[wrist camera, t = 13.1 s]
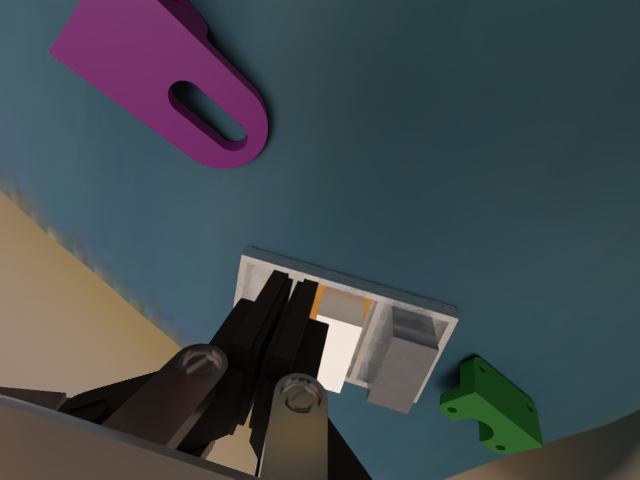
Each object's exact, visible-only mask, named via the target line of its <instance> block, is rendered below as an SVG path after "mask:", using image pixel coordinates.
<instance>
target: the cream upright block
mask: <svg viewBox="0 0 640 480" xmlns="http://www.w3.org/2000/svg"><path fill="white" fill-rule="evenodd" d="M364 305H365V297H362V296H358V295H355V294H351V293H348V292H345V291H341V290H338V289H334V288H331V287H327V286H326V287H325V290H324V294H323V297H322V300H321V304H320V307H319V311H318V314H317V318H316V320H318V321H321V322H324V323H327V324H329V329H328V333H327V338H326V342H325V346H324V351H323V355H322V360H321V364H320V368H319V373H318V377H317V380H318V381H319V382H320V383H321V384H322V385H323V387H324V389H327V390H330V391H334V392H337V393H340V391H341V388H342V385H343V382H344V379H345V376H346V374H347V371H348V368H349V365H350V362H351V359H352V357H353V354H354V351H355V348H356V345H357V342H358V339H359V337H360V334H361V331H362V328H363V317H364Z"/></svg>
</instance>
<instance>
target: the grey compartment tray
mask: <svg viewBox="0 0 640 480" xmlns="http://www.w3.org/2000/svg"><path fill="white" fill-rule="evenodd" d="M273 270H278V271H281V272H285V273H288V274H289V278H291V279H293V284H292V288H291V293H290V296H291V294H292V292H293V290H294V288H295V285H296V283H297V281H301V282H303V281H304V279H308V280H312V281H315V282H319V285H318V289H317V292H316V296H315V300H314V303H313V307H312V310H311V314H310V318H311V319H314V320H316V318H317V314H318V311H319V307H320V304H321V300H322V297H323V294H324V290H325V287H326V286H327V287H331V288H334V289H338V290H341V291H345V292H348V293H351V294H355V295H358V296H362V297H365V305H364V317H363V328H362V331H361V334H360V337H359V339H358V342H357V345H356V348H355V351H354V354H353V357H352V359H351V362H350V365H349V368H348V371H347V374H346V376H345V379H344V381H346V382H350V383H353V384H356V385H359V386H362V387H366V388H367V399H366V401H368V402H371V403H374V404H377V405H381V406H384V407H387V408H390V409H393V410H397V411H400V412H403V413H406V414H408V412H409V410H410V408H411V406H412V404H413V402H414V403H416V402H417V400H418V398H419V396H420V394H421V392H422V390H423V388H424V386H425V384H426V382H427V381H428V379H429V377H430V375H431V373H432V371H433V369H434V367H435V365H436V363H437V361H438V359H439V357H440V355H441V353H442V351H443V349H444V347H445V345H446V343H447V341H448V339H449V337H450V335H451V333H452V331H453V329H454V327H455V325H456V323H457V322H458V320H459V318H458V315H457V312H456V309H455V307H454V306H451V305H447V304H444V303H441V302H437V301H434V300H430V299H427V298H424V297H420V296H417V295H413V294H410V293H407V292H403V291H400V290H396V289H393V288H390V287H386V286H383V285H379V284H376V283H373V282H369V281H366V280H362V279H359V278H356V277H352V276H349V275H345V274H342V273H339V272H335V271H332V270H328V269H325V268H322V267H318V266H315V265H311V264H308V263H305V262H301V261H298V260H294V259H291V258H288V257H284V256H281V255H277V254H274V253H271V252H267V251H264V250H260V249H257V248H254V247H250V246H249V247H248V248H247V249H246V250H245V252H244V253H243V254H242V256H241V262H240V269H239V275H238V281H237V287H236V294H235V300H234V306H233V308H234V307H235V305H236V304H237V302H238V301H239V300H240V298H245V299H248V300H251V301H255V300H256V298H257V296H258V295H259V293H260V292H261V290H262V288H263V287H264V285H265V283H266V282H267V280H268V278H269V277H270V275H271V274H272V272H273ZM289 299H290V297H289Z"/></svg>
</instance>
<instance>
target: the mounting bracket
mask: <svg viewBox="0 0 640 480" xmlns="http://www.w3.org/2000/svg"><path fill="white" fill-rule="evenodd" d="M207 32H208V27H207V25H206V23H205V21H204V19H203V17H202V16H201V15H200V13H199V12H198V11H197V10H196V8H195V7H194V6H193V5H192V4H191V2H190V1H189V0H81V1H80V3H79V4H78V6H77V8H76V9H75V11H74V12H73V14H72V16H71V17H70V19H69V20H68V22H67V24H66V25H65V27H64V29H63V30H62V32H61V33H60V35H59V37H58V38H57V40H56V42H55V43H54V45H53V46H52V48H51V50H50V51H49V53H50V54H51V55H53V56H54V57H55V58H57V59H58V60H59V61H61V62H62V63H64V64H65V65H66V66H68V67H69V68H70V69H72V70H73V71H74V72H76V73H77V74H78V75H80V76H81V77H83V78H84V79H85V80H87V81H88V82H89V83H91V84H92V85H93V86H95V87H96V88H97V89H99V90H100V91H102V92H103V93H104V94H106V95H107V96H108V97H110V98H111V99H112V100H114V101H115V102H116V103H118V104H119V105H120V106H122V107H123V108H125V109H126V110H127V111H129V112H130V113H131V114H133V115H134V116H135V117H137V118H138V119H139V120H141V121H142V122H144V123H145V124H146V125H148V126H149V127H150V128H152V129H153V130H154V131H156V132H157V133H158V134H160V135H161V136H163V137H164V138H165V139H167V140H168V141H169V142H171V143H172V144H173V145H175V146H176V147H177V148H179V149H180V150H181V151H183V152H184V153H186V154H187V155H188V156H190V157H191V158H193V159H194V160H196V161H198V162H199V163H202V164H204V165H207V166H210V167H214V168H234V167H238V166H241V165H244V164H246V163H248V162H250V161H251V160H252V159H254V158H255V157H256V156H257V155H258V154H259V153H260V151H261V150H262V148H263V146H264V144H265V142H266V138H267V133H268V121H267V111H266V107H265V104H264V102H263V100H262V98H261V96H260V94H259V93H258V91H257V90H256V89H255V88H254V87H253V86H252V84H250V83H249V82H248V81H247V80H246V79H245V78H244V77H243V76H242V75H241V74H240V73H239V72H238V71H237V70H236V69H235V68H234V67H233V66H232V65H231V64H230V63H229V62H228V61H227V60H226V59H225V58H224V57H223V56H222V55H221V54H220V53H219V52H218V51H217V50H216V49H215V48H214V47H213V46H212V45H211V44H210V42H209V41H208V40H207V38H206V35H207ZM181 80H184V81H189V82H191V83H193V84H195V85H196V86H197V87H199V88H200V89H201V90H202V91H203V92H204V93H205V94H206V95H208V96H209V97H210V98H211V99H212V100H213V101H214V102H215V103H217V104H218V105H219V106H220V107H221V108H222V109H223V110H224V111H226V112H227V113H228V114H229V115H230V116H231V117H232V118H234V119H235V120H236V121H237V122H238V123H239V124H240V125H241V126H243V127H244V129H245V130H246V132H247V135H246V137H245V138H244V139H243V140H241V141H238V142H230V141H227V140H225V139H224V138H223V137H221V136H220V135H219V134H218V133H217V132H215V131H214V130H213V129H212V128H210V127H209V126H208V125H207V124H206V123H204V122H203V121H202V120H201V119H200V118H198V117H197V116H196V115H195V114H194V113H192V112H191V111H190V110H189V109H187V108H186V107H185V106H184V105H183V104H181V103H180V102H179V101H178V100H177V99H176V98H175V96H174V94H173V91H172V84H173V83H174V82H176V81H181Z"/></svg>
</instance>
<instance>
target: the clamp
mask: <svg viewBox="0 0 640 480" xmlns="http://www.w3.org/2000/svg"><path fill="white" fill-rule="evenodd" d="M440 410H441V412H443V413H444V414H445V415H446V416H448V417H449V418H450V419H452V420H453V421H454V422H455V421H456V420H459V419H464V418H468V419H475V420H479V434H480V442H481V443H483V444H484V445H485V446H486V447H488V448H489V449H490V450H492V451H493V452H496V453H499V454H510V453H515V452H520V451H525V450H530V449H535V448H540V447H543V441H542V436H541V431H540V426H539V420H538V415H537V411H536V408H535V406H534V404H533V403H532V401H531V400H530V399H529V398H528V397H527V396H526V395H525V394H523V393H522V392H521V391H520V390H519V389H517V388H516V387H515V386H514V385H512V384H511V383H510V382H509V381H508V380H506V379H505V378H504V377H503V376H501V375H500V374H499V373H498V372H497V371H495V370H494V369H493V368H492V367H490V366H489V365H488V364H487V363H486V362H484V361H483V360H482V359H481V358H479V357H475V358H473V359H471V360H468V361H466V362H463V363H461V365H460V384H457V385H455V386H453V387H452V390H451V391H448V392H445V393H443V394H441V396H440Z"/></svg>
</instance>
